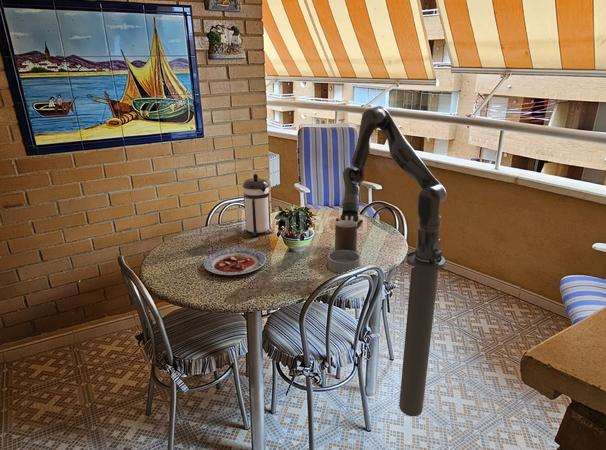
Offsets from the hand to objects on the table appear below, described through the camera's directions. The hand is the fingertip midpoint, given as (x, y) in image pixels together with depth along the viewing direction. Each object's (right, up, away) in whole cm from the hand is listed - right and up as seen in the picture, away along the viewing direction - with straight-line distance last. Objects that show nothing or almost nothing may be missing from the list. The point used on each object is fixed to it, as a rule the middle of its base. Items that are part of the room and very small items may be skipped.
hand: (347, 238), depth 186 cm
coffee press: (-44, +3, +22) cm, 50 cm away
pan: (-3, -11, -17) cm, 20 cm away
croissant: (-20, +2, +18) cm, 27 cm away
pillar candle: (-1, -6, -3) cm, 7 cm away
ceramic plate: (-49, -11, -15) cm, 52 cm away
